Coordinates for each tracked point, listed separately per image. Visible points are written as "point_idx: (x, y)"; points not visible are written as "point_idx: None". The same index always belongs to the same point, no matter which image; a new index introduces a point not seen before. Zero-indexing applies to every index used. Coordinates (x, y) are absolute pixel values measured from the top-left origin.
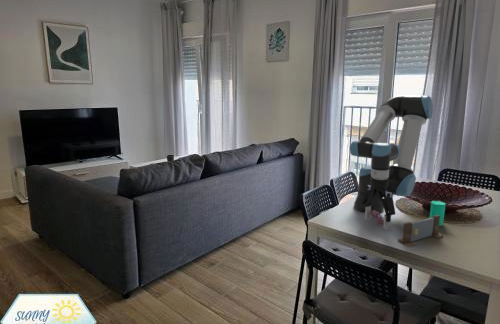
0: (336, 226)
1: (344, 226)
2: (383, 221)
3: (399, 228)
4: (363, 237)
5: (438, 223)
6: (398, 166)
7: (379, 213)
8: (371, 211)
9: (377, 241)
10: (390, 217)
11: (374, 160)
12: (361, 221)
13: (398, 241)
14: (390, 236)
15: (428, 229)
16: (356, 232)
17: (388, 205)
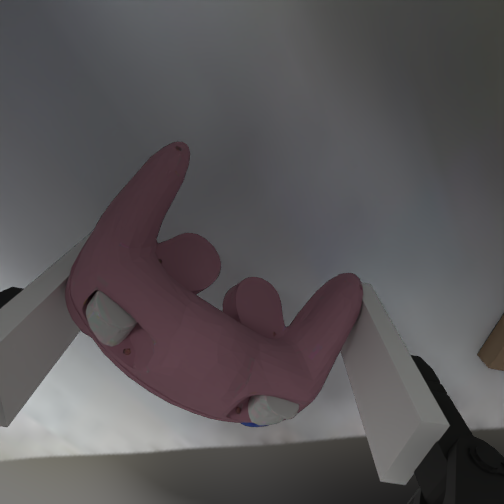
0: (54, 430)
1: (78, 401)
2: (334, 359)
3: (409, 88)
4: (272, 441)
5: None
6: None
7: (239, 362)
8: (99, 347)
9: (364, 432)
10: (455, 419)
11: None
12: (54, 235)
13: (485, 356)
14: (404, 322)
15: None
16: (196, 418)
17: None
